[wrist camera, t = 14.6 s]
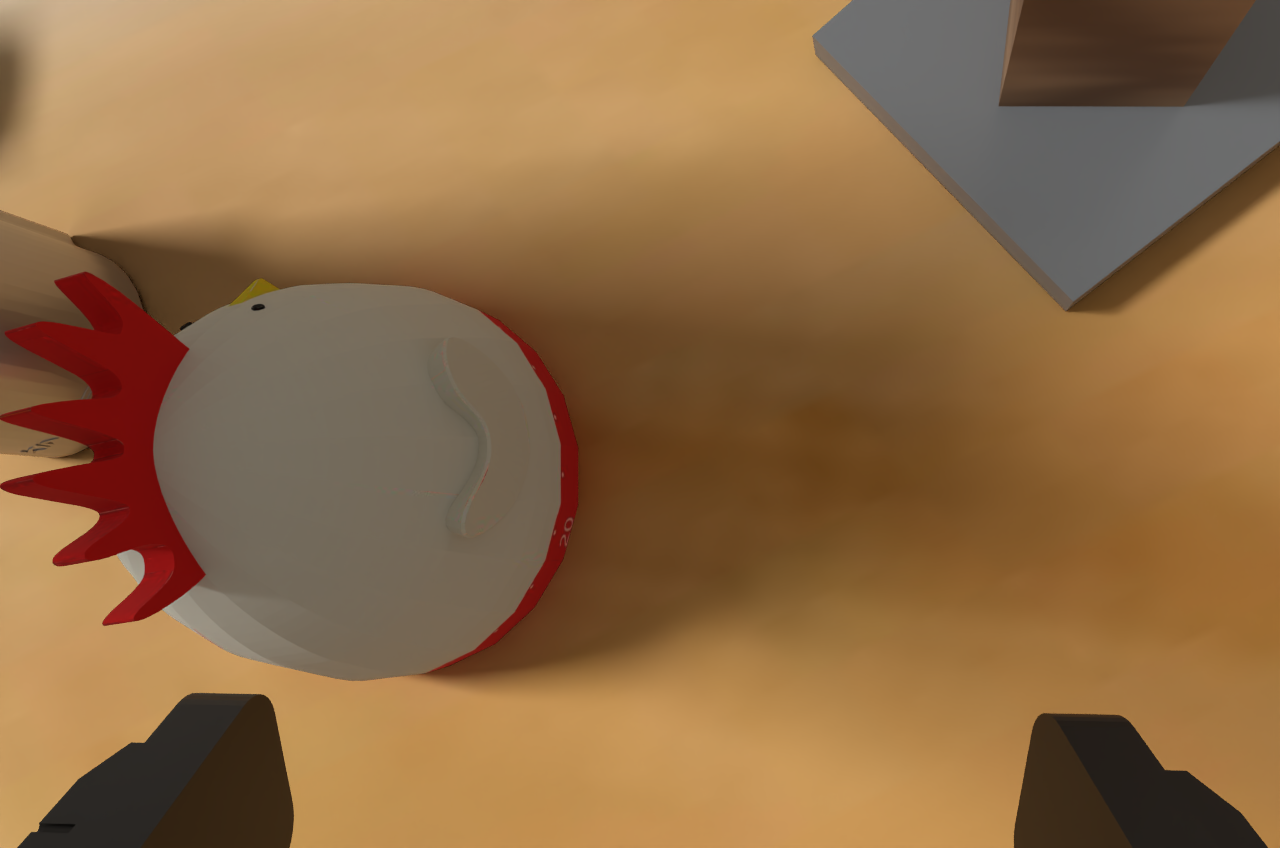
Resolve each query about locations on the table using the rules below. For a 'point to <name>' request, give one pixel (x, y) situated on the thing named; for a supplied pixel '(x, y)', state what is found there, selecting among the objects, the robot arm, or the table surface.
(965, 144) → the slate tile
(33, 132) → the table surface
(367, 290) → the kitchen timer
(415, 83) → the table surface
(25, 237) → the robot arm
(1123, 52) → the walnut block
